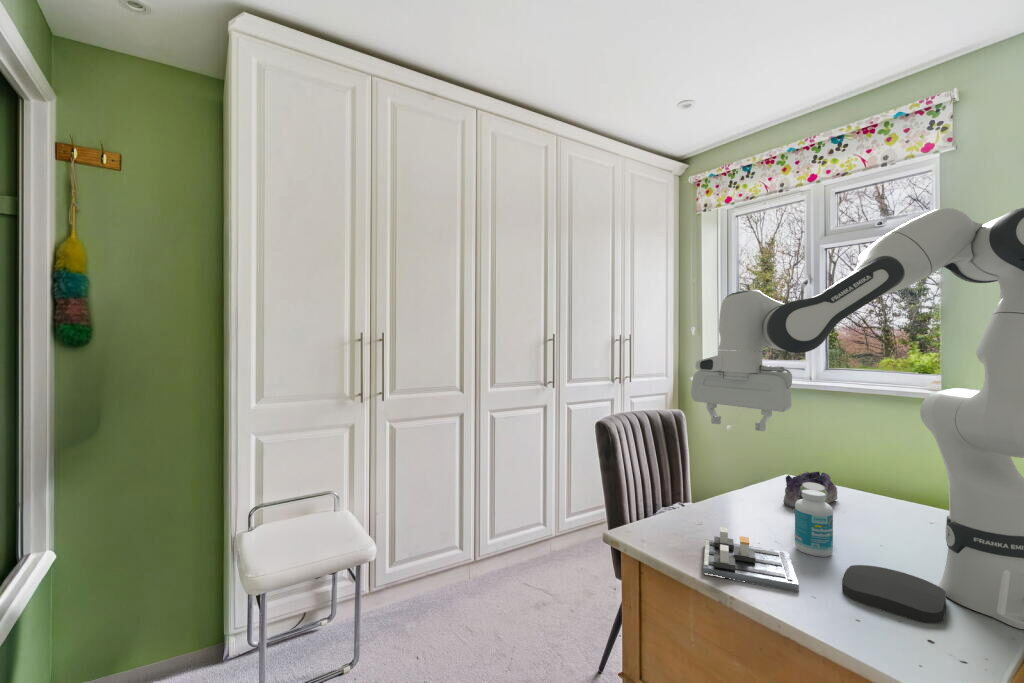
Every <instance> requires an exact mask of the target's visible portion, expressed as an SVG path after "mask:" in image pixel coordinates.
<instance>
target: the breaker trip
mask: <svg viewBox="0 0 1024 683" xmlns="http://www.w3.org/2000/svg"><path fill="white" fill-rule="evenodd" d="M739 545H740V549H736V548H734V558H735V560H741V561H747V562H753V563H756V558H755V552H754V551H749V546H750V539H749V537H748V536H747V537H746V536H743V535H742V536H741V535H740V536H739Z"/></svg>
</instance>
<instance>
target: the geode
mask: <svg viewBox="0 0 1024 683" xmlns="http://www.w3.org/2000/svg"><path fill="white" fill-rule="evenodd" d="M804 482H814V483H818V484H821V485H823V486H824V487H825V490H826V491H827V494H828V495H827V504H831V503H833V502H835V501H837V500H838V487H837V486H836V485H835V484H834V483H833V482H832V481H831V476H830V475H829V474H828V473H826V472H822V473H821V474H820V471H811V472H809V471H804V472H802V473H800V474H799V475H795V476H793V477H791V475H790V474H787V475H786V476H785V483H786V484H785V485H786V487H784V488H785V489H784V493H785V494H784V497H783V505H784V506H786V507H788V508H790V509H791V510H792V509H793V510H795V503H796V501H798V500H799V489H800V487H801V486H802V484H803V483H804Z"/></svg>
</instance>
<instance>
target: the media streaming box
mask: <svg viewBox="0 0 1024 683" xmlns="http://www.w3.org/2000/svg"><path fill="white" fill-rule="evenodd" d="M841 591H842V594H844V596H845V597H847V598H849V599H850V600H852V601H854V602H856V603H860V604H862V605H865V606H868V607H870V608H871V607H872V608H874V609H878V610H881V611H884V612H887V613H890V614H893V615H896V616H899V617H902V618H907V619H909V620H911V621H912V620H913V621H916V622H920V623H924V624H925V623H926V624H940V623H942V622H943V621H944V618H945V616H946V615H945V614H946V609H947V608H946V607H947V603H946V602H947V600H946V598H947V596H946V592H945V591H944V590H943V589H942V588H940V587H939V585H937V584H934V583H933V582H931V581H929V580H925V579H924V578H921V577H918V576H915V575H913V574H909V573H906V572H902V571H899V570H895V569H891V568H886V567H881V566H875V565H867V564H866V565H865V564H854V565H850V566H849V567H847V568H846V569H845V571H844V573H843V576H842V579H841Z"/></svg>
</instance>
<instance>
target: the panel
mask: <svg viewBox="0 0 1024 683" xmlns="http://www.w3.org/2000/svg"><path fill="white" fill-rule="evenodd" d="M734 548H736V549H740V543H739V544H738V543H734ZM749 551H754V552H755V558H756V563H753V562H747V561H741V560H735V570H731V569H725V568H719V567H714V555H720V547H714V539H713V540H712V539H704V551H703V552H704V553H703V569H702V570H703V572H704V573H708V574H713V575H718V576H722V577H725V578H731V579H735V580H740V581H745V582H749V583H748V584H750V583H754V584H753V585H756V584H758V585H757V586H761V585H764V586H763V587H767V586H770V587H769V588H772V587H774V588H773V589H778V588H779V590H784V591H789V592H796V593H800V584H799V580H798V578H797V575H796V572H795V569H794V566H793V562H792V560H791V557H790V554H789V552H788V551H784V550H777V549H771V548H764V547H757V546H750V545H749ZM729 557H732V558H734V550H733V549H729ZM745 582H744V583H745Z"/></svg>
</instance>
